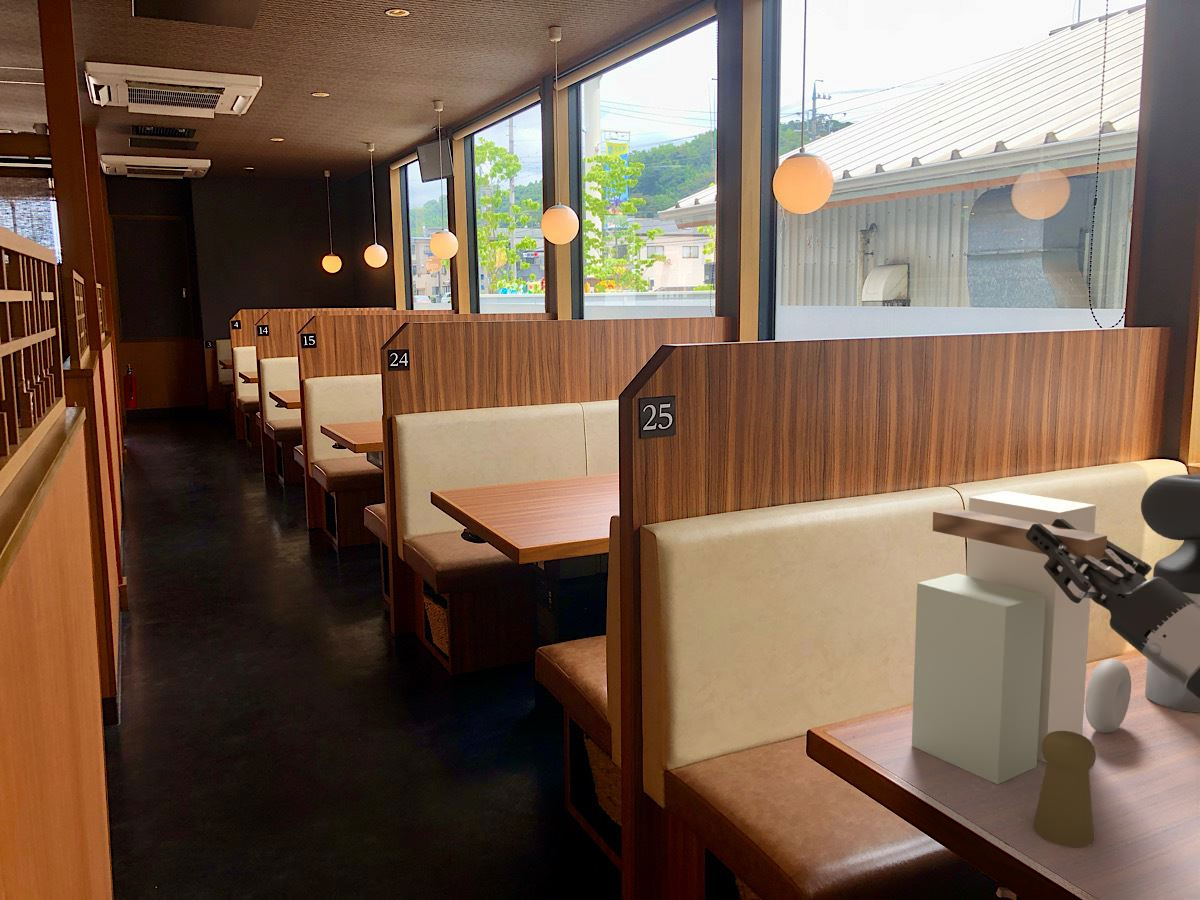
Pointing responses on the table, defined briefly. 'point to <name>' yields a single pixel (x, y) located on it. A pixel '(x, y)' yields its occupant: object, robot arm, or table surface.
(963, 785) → the table surface
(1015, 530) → the slat
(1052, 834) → the cork
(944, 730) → the stand
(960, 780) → the table surface
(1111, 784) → the table surface
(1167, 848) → the table surface
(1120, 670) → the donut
